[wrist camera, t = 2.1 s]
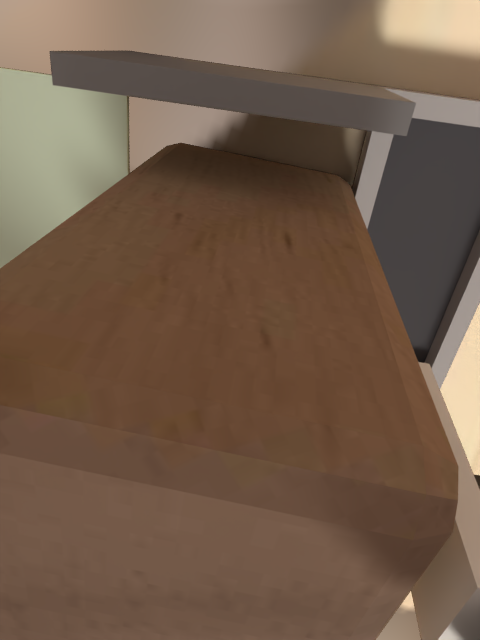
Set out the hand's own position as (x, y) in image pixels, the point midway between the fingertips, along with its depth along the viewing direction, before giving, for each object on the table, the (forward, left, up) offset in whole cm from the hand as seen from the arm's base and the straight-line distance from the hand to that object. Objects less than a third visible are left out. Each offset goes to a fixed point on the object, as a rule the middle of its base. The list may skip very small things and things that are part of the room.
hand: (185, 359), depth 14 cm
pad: (0, +11, -13) cm, 17 cm away
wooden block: (-1, -1, -13) cm, 13 cm away
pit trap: (0, -10, -13) cm, 16 cm away
